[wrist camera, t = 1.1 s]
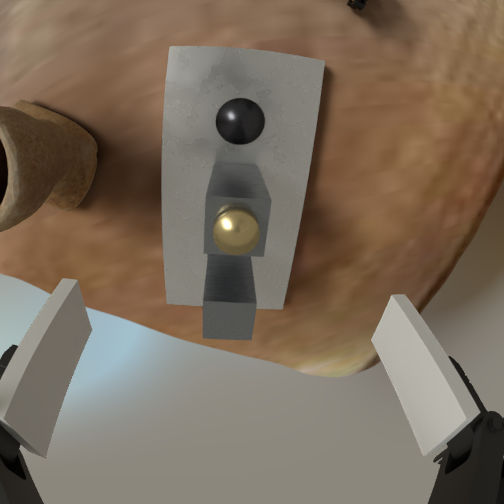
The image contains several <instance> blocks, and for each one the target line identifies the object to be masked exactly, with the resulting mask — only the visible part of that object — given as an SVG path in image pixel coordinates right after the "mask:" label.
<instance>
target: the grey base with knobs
mask: <svg viewBox="0 0 504 504" xmlns="http://www.w3.org/2000/svg"><path fill="white" fill-rule="evenodd" d="M324 65H325V61H322V60H317V59H313V58H308V57H302V56H297V55H291V54H285V53H278V52H271V51H263V50H254V49H244V48H231V47H212V46H170V47H169V56H168V65H167V75H166V86H165V99H164V115H163V135H162V184H161V186H162V236H163V257H164V273H165V286H166V298H167V304H177V305H191V306H203V338H208V339H230V340H252V333H253V327H254V320H255V313H256V309H283V305H284V300H285V296H286V291H287V286H288V282H289V277H290V272H291V267H292V262H293V257H294V252H295V247H296V242H297V237H298V232H299V226H300V221H301V216H302V210H303V205H304V199H305V193H306V187H307V182H308V176H309V170H310V164H311V158H312V151H313V145H314V138H315V132H316V125H317V118H318V111H319V104H320V97H321V89H322V81H323V73H324ZM214 163H229V164H243V165H255V166H258V167H259V170H260V172H261V175H262V177H263V180H264V182H265V185H266V187H267V190H268V192H269V195H270V197H271V200H272V202H271V209H270V216H269V224H268V231H267V238H266V245H265V252H264V257H254V256H236V255H218V254H204V224H205V200H206V193H207V189H208V185H209V181H210V177H211V173H212V170H213V166H214Z"/></svg>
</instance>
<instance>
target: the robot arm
mask: <svg viewBox="0 0 504 504" xmlns="http://www.w3.org/2000/svg"><path fill="white" fill-rule="evenodd" d="M91 331H92V328H91V325H90V322H89V318H88V315H87V312H86V309H85V305H84V302H83V298H82V294H81V291H80V287H79V283H78V280H74V279H65V278H63V279H62V280H61V281H60V283H59V284H58V286H57V287H56V288H55V290H54V291H53V293H52V294H51V296H50V297H49V299H48V300H47V302H46V303H45V304H44V306H43V307H42V309H41V311H40V312H39V314H38V315H37V317H36V318H35V320H34V321H33V323H32V324H31V326H30V328H29V329H28V331H27V333H26V334H25V336H24V338H23V339H22V341H21V343H20V345H19V346H17V345H12V346H11V347H10V348H9V349H8V350H7V351H5V352H4V354H3V355H2V357H1V359H0V504H44V503H43V501H42V499H41V497H40V495H39V493H38V491H37V489H36V487H35V484H34V482H33V480H32V478H31V475H30V473H29V470H28V468H27V465H26V463H25V460H24V458H23V455H22V453H21V451H20V450H19V448H20V445H22V446H23V447H24V448H26V449H27V450H28V451H29V452H32V453H34V454H36V455H39V456H41V457H44V458H46V454H47V451H48V447H49V444H50V440H51V436H52V433H53V430H54V427H55V424H56V421H57V418H58V414H59V412H60V409H61V406H62V403H63V400H64V397H65V395H66V392H67V389H68V387H69V384H70V381H71V379H72V376H73V374H74V371H75V369H76V366H77V364H78V361H79V359H80V356H81V354H82V351H83V349H84V347H85V344H86V342H87V340H88V338H89V335H90V333H91ZM371 340H372V342H373V344H374V347H375V349H376V351H377V353H378V355H379V357H380V359H381V361H382V363H383V365H384V367H385V369H386V371H387V374H388V376H389V378H390V380H391V382H392V384H393V387H394V389H395V391H396V393H397V395H398V398H399V400H400V402H401V404H402V407H403V409H404V411H405V414H406V416H407V418H408V421H409V423H410V425H411V428H412V430H413V433H414V435H415V437H416V440H417V442H418V445H419V447H420V450H421V453H422V455H423V456H426V455H428V454H430V453H433V452H436V451H437V450H439V449H440V448H441V447H443V446H444V445H445V444H447V446H448V448H447V449H445V450H444V451H443V452H441V453H440V454H439V455H438V456H436V457H435V459H434V461H433V462H436V461H438V460H439V459H440V458H442V457H443V458H442V460H440V461H439V463H438V464H441V465H440V469H439V472H438V475H437V479H436V482H435V485H434V488H433V491H432V493H431V496H430V499H429V502H428V504H504V458H503V456H504V418H502V417H501V415H500V414H498V413H497V412H495V411H489V412H488V411H487V410H486V409H485V407H484V405H483V403H482V402H481V400H480V398H479V396H478V395H477V393H476V391H475V390H474V388H473V386H472V384H471V383H469V379H468V378H467V376H465V373H464V371H463V370H462V368H461V367H460V365H459V364H458V363H457V362H456V361H455V360H454V359H453V358H452V357H450V356H449V357H448V356H447V355H446V353H445V352H444V350H443V349H442V347H441V346H440V344H439V342H438V341H437V339H436V338H435V336H434V335H433V333H432V332H431V330H430V329H429V327H428V326H427V325H426V323H425V322H424V320H423V319H422V317H421V316H420V315H419V313H418V312H417V310H416V309H415V308H414V306H413V305H412V303H411V302H410V301H409V299H408V298H407V297H406V295H391V298H390V300H389V302H388V305H387V307H386V309H385V311H384V314H383V316H382V318H381V320H380V322H379V324H378V326H377V329H376V331H375V333H374V335H373V337H372V339H371Z"/></svg>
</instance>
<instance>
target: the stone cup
mask: <svg viewBox="0 0 504 504" xmlns="http://www.w3.org/2000/svg"><path fill="white" fill-rule="evenodd" d="M96 153H97V144H96V142H95V140H94V138H93V137H92V136H91V135H90V134H89V133H88V132H87V131H86V130H84V129H83V128H82V127H80V126H79V125H78V124H76V123H75V122H73V121H72V120H70V119H68V118H66V117H64V116H62V115H59V114H57V113H55V112H52V111H50V110H48V109H45V108H43V107H40V106H37V105H35V104H32V103H30V102H28V101H25V100H19V101H18V102H17V103H16V104H15V105H14V106H13V107H12V108H10V107H1V106H0V232H2V231H4V230H7V229H10V228H11V227H13V226H15V225H17V224H19V223H20V222H22V221H23V220H25V219H27V218H28V217H30V216H31V215H32V214H34V213H35V212H36V211H37V210H38V209H39V208H40V207H41V206H42V204H43V203H45V204H47V205H50V206H52V207H54V208H56V209H60V210H64V211H70V210H73V209H74V208H75V207H77V206H78V205H79V204H80V202H81V201H82V200H83V198H84V197H85V195H86V194H87V192H88V190H89V189H90V186H91V184H92V181H93V178H94V175H95V172H96V168H97V157H96Z"/></svg>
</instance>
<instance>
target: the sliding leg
mask: <svg viewBox="0 0 504 504" xmlns="http://www.w3.org/2000/svg"><path fill="white" fill-rule="evenodd" d="M271 202H272V200H271V197H270V195H269V192H268V190H267V187H266V185H265V182H264V180H263V177H262V175H261V172H260V170H259V167H258V166H255V165H243V164H229V163H214V166H213V170H212V173H211V177H210V181H209V185H208V189H207V193H206V200H205V224H204V254H218V255H236V256H254V257H264V252H265V245H266V238H267V231H268V224H269V216H270V209H271Z"/></svg>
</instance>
